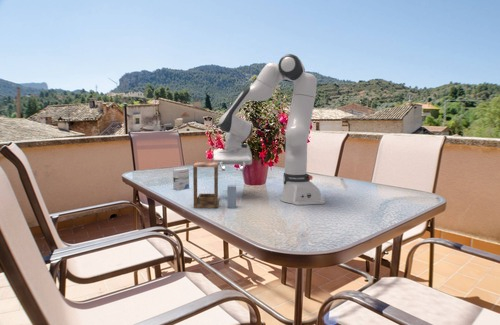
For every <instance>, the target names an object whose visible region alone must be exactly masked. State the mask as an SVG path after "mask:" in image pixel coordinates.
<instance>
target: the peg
mask: <svg viewBox="0 0 500 325" xmlns="http://www.w3.org/2000/svg"><path fill="white" fill-rule="evenodd" d="M226 196H227V201H226V202H227V206H226V207H227V208H228V209H229V208H230V209H236V208H237V184H227V195H226Z"/></svg>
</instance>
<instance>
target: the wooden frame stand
mask: <svg viewBox="0 0 500 325" xmlns="http://www.w3.org/2000/svg"><path fill="white" fill-rule="evenodd" d="M192 166H193V168H192V171H193V172H192V173H193V176H192V178H193V179H192V180H193V186H192V187H193V208H194V209H218V208H219V204H220V200H221V198H219V166H220V164H219V162H213V161H212V162H207V161H206V162H204V161H202V162H200V161H197V162H195V163H193V165H192ZM198 168H214V173H213V174H214V175H213V176H214V178H213V179H214V183H213V184H214V185H213V186H214V187H213V188H214V189H213V190H214V193H199V194H198Z"/></svg>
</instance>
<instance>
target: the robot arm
mask: <svg viewBox="0 0 500 325" xmlns="http://www.w3.org/2000/svg"><path fill="white" fill-rule="evenodd" d="M282 81H284V82H288V83H293V91H292V97H291V103H290V108H289V113H288V119H287V124H286V128H285V129H286V130H285V133H284V135H285V136H284V137H285V151H284V153H285V154H284V172H283V175H282V176H283V178H282V179H283V180H282V182H283V186H282V188H283V189H282V193H281V195H280V196H281V197H280V201H281V202H284V203H287V204H292V205H295V206H304V205H306V206H307V205H324V204H326V198H324V197H322V195H321V194H322V193H321V190H320V188H319V187H317V186H316V184H314V183H313V182H312V180H313V178H314V177H313V175H311V174H308V173H307V170H308V166H307V165H308V141H309V140H308V139H309V134H310V129H311V122H312V118H313V111H314V105H315V100H316V95H317V86H318V85H317V84H318V83H317V77H316V76H315V75H314V74H313V73H310V72H306V70H305V66H304V64H303V61H302V60H301V58H299V57H298V56H297V55H295V54H291V53H287V54H285V55H283V56H282V57H281V58H280V59H279V61H278V63H275V62H268V63H266V64H265V66H264V67H263V68H262V69H261V71H260V72H259V74H258V75H257V77H256V79H255V81H254V82H253V83H252V84H251V85H248V86H245V87H244V88H243V89H242V90H241V91H240V93H239V94H238V95H237V96H236V97H235V99H234V100H233V102H232V103H231V104H230V105H229V107H228V108H227V109H226V110H225V111H224V113H223V114H222V115H221V117H220V118H219V121H218V126H219V129H220V130H221V132H224V133H225V135H224V136H225V138H224V139H225V143H224V148H216V149H214V150H213V152H212V154H213V158H212V162H219V166H220V168H221V171H224V172H225V170H226V165H228V166H229V165H231V166H232V165H234V166H235V165H236V166H237V165H238V166H239V165H240V167H239V168H240V169H239V170H240V172H244V169H245V167H246V165H247V166H250V165H252V164H253V155H252V151H251V148H250V145H248V144H245V143H243V142H246V141H247V140H249V139H250V138H251V136H253V130H254V129H253V128H254V127H253V124H252V122H250V121H247V120H246V119H243V118H242V117H239V116H237V115H236V114H238V112H239V111H240V109H241V108H242V107H243V105H244V104H245V103H247V102H249V101H255V102H256V101H257V102H265V101H267V100H269V99H271V97H272V96H273V94H274V93H275V91H276V89H277V87H278V85H279V83H280V82H282Z"/></svg>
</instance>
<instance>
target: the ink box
mask: <svg viewBox="0 0 500 325" xmlns="http://www.w3.org/2000/svg"><path fill="white" fill-rule="evenodd" d="M172 179H173V180H172V182H173V183H172V184H173V188H172V189H173V190H175V191H181V190H185V189H189V188H190V169H189V168H184V167H183V168H177V169H176V168H175V169H173V170H172Z"/></svg>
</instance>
